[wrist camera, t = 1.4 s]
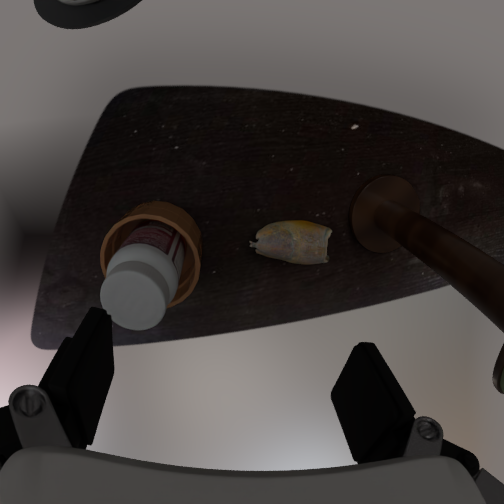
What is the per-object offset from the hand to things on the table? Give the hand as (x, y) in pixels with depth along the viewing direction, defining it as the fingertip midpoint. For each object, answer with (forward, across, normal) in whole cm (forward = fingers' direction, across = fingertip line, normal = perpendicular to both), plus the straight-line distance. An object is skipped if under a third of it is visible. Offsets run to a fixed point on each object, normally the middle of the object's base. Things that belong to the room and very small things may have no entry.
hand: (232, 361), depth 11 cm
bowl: (+22, +6, +5) cm, 24 cm away
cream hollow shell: (+22, -7, +2) cm, 24 cm away
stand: (+22, -18, -3) cm, 28 cm away
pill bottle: (+22, +6, +5) cm, 23 cm away
